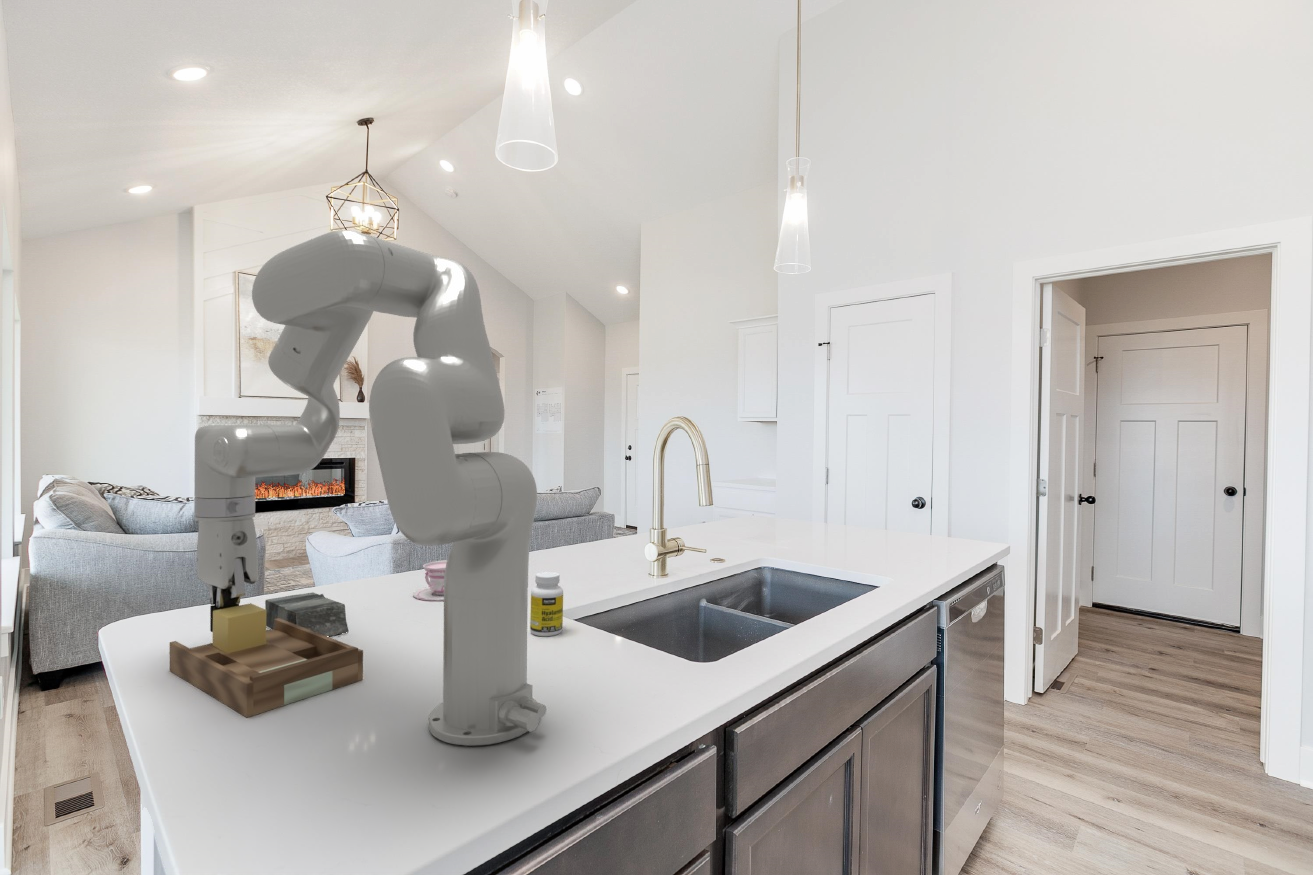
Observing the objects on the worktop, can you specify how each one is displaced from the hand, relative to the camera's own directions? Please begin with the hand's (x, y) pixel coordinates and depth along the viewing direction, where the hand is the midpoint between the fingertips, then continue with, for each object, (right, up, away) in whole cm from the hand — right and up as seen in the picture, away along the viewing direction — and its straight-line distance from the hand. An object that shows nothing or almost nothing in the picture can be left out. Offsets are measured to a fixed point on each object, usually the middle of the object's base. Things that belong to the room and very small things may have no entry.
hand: (224, 630), depth 97 cm
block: (+4, -1, -3) cm, 5 cm away
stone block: (+6, -4, +13) cm, 15 cm away
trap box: (+10, -4, -7) cm, 13 cm away
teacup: (+21, -4, +37) cm, 42 cm away
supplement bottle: (+46, -4, +13) cm, 48 cm away
